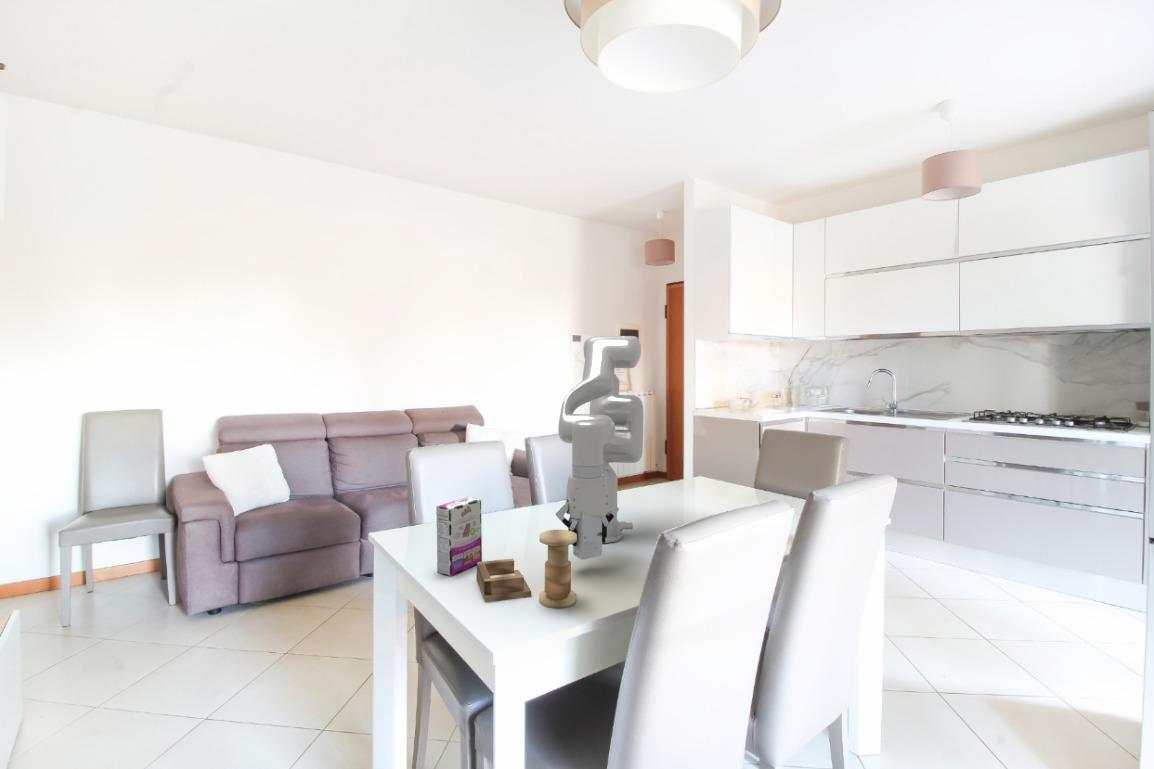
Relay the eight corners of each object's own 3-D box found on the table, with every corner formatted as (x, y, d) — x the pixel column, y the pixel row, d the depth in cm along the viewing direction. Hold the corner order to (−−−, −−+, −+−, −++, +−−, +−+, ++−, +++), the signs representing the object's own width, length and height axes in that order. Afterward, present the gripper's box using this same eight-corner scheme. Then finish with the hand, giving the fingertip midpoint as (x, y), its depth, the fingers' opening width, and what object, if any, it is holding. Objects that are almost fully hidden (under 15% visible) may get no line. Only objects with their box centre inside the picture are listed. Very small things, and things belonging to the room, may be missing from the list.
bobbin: (570, 590, 123) (570, 528, 122) (581, 605, 115) (581, 539, 115) (535, 594, 120) (535, 531, 120) (544, 610, 113) (544, 542, 112)
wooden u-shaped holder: (518, 574, 132) (518, 557, 132) (531, 596, 120) (531, 577, 120) (476, 579, 129) (476, 561, 129) (484, 602, 117) (484, 582, 116)
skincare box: (582, 561, 132) (582, 511, 130) (572, 554, 135) (572, 506, 134) (603, 555, 135) (603, 507, 134) (592, 549, 139) (592, 502, 138)
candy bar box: (467, 559, 142) (467, 496, 142) (482, 563, 139) (482, 498, 139) (435, 573, 133) (435, 505, 132) (450, 577, 130) (450, 508, 129)
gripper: (615, 464, 139) (614, 533, 141) (548, 469, 134) (549, 541, 136) (627, 471, 132) (626, 543, 134) (557, 477, 127) (557, 552, 129)
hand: (587, 541), depth 135 cm, fingers closed on skincare box, 6 cm apart
